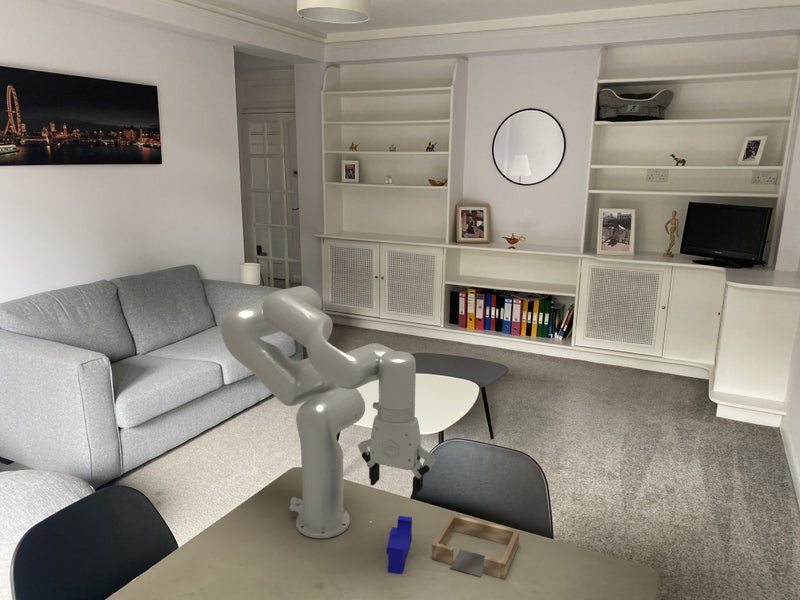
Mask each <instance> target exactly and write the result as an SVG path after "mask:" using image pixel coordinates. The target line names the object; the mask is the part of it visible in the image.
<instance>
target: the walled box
mask: <svg viewBox="0 0 800 600" xmlns="http://www.w3.org/2000/svg"><path fill="white" fill-rule="evenodd" d="M453 532H458V533H460V534H464V535H467V536H468V535H469V536H472V537H477V538H481V539H484V540H487V541H492V542H495V543H499V544H503V545H507V548H506V550H505V552H504V555H503V557H502V559H498V558H495V557H490V556H487V555H483V554H480V553H475V552H472V551H468V550H465V549H459V551H458V553H457V554H456V556H455V558H454V550H455V549H454V546H450V545H446V544H447V543H448V541H449V539H450V537H451V536H452V535H453ZM519 540H520V530H518V529H513V528H510V527H506V526H501V525H496V524H495V523H489V522H485V521H480V520H477V519H472V518H469V517H466V516H460V515H456V514H450V515H449V517H448V518H447V521H446V522H445V524H444V525H443V527H442V528H441V530H440V532H439V534H438V535H437V536H436V538H435V539H434V540H433V543H432V544H431V560H432V561H433V560H434V561H437V562H441V563H443V564H448V565H450V567H449V570H452V571H456V572H459V573H462V574H467V575H471V576H474V577H477V578H481V577H482V576H483V574H484V575H487V576H490V577H495V578H498V579H501V580H505V579H506V576H507V575H508V572H509V570H510V567H511V564H512V562H513V560H514V557H515V554H516V552H517V551H518V548H519V545H520V544H519Z"/></svg>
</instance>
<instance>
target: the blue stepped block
mask: <svg viewBox="0 0 800 600" xmlns="http://www.w3.org/2000/svg"><path fill="white" fill-rule="evenodd" d="M412 528H413V516H403V515H398V516H397V525H396V527H394V526H391V530H390V532H389V537H388V538H389V539H388V542H387V545H386V546H387V547H386V555H388V556H387V557H388V558H387V561H388V563H387V573H391V574H396V575H403V573H404V569H405V565H406V563H407V558H408V554H409V550H410V548H411V547H410V546H411V544H412V539H413V538H412V537H413V535H412V530H413V529H412Z"/></svg>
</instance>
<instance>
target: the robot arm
mask: <svg viewBox="0 0 800 600" xmlns="http://www.w3.org/2000/svg"><path fill="white" fill-rule="evenodd" d="M322 304H323V303H322V300H321V296H320V295H319V293H318V292H317V291H316V290H315V289H313V288H311V287H310V286H307V285H298V286H294V287H288V288H284V289H279V290H276V291H274V292H272V293H270V294H269V295H268V296H267V297H266V298H265V299H264V300H262V301H258V302H253V303H248V304H245V305H241V306H238V307H235V308H233V309H232V310H230V311H228V312H227V313H226V314H225V315H224V316H223V318H222V320H221V323H220V332H221V333H220V334H221V338H222V341H223V343H224V346H225V347H226V349H227V351H228V352H229V353H230V354H231V356H232V357H233V359H235V360H236V361H237V362H239V363H240V364H241V365H242V366H244V367H245V368H247V369H248V370H249V371H250V372H251V373H252V374H253V375H254V376H255V377H256V378H257V379H258V380H259V381H260V382H261V384H263V386H265V388H266V389H268V390H269V392H270V393H271V394H272V395H273V396H274V397H275V399H277V400H278V401H279V402H281V403H282V404H283V405H285V406H287V407H294V406H298V405H300V404H301V405H300V407H299V408H298V410H297V413H296V417H295V421H296V422H295V423H296V429H297V432H298V438H299V441H300V442H299V443H300V453H301V454H300V455H301V491H302V492H301V495H302V498H299V497H294V496H292V497H291V499H290V502H289V503H290V504H289V505H290V506H289V511H291V512H296V513H297V514H298V515H297V517H296V519H295V520H296V521H295V526H296V529H297V530H298V532H299V533H301V534H302V535H303V536H306V537H309V538H314V539H330V538H333V537H336V536H339V535H341V534H342V533H344V532H345V531H346V530H347V529H348V528H349V526H350V523H351V516H350V514H349V512H348V511H347V510H346V509H344V453H343V449H342V445H341V444H340V442H339V441H338V438H337V435H338V434H339V433H341V432H342V431H343V430H345V429H347V428H349V427H351V426H353V425H355V424H356V423H357V422H359V421H360V420H362V418H363V416H364V415H365V412H366V403H365V399H364V398H363V397H364V396H363V395H362V393H361V392H360V391H359V390H358V388H360V387H362V386H365V385H367V384H369V383H372V382H374V381H375V382H376V381H378V402H375V401H374V402H373V403H372V409H374V410H377V414H376V415H375V416H374V419H373V422H372V428H371V434H370V438H369V439H366V440H364V441H361V442H359V444H357V447H358V450H359V452H360V454H361V458H362V459H363V460H364V461H365V463H366V466H367V468H368V479H369V480H370V486H375V485H376V484H377V483H378V482H379V481H380V478H381V477H380V473H381V472H380V467H381V466H380V465H382V466H386V467H391V468H395V469H401V470H405V471H411V472H412V473H413V475H414V476H413V478H412V495H413V496H417V495H418V494H419V492H420V491H422V490H423V486H424V475H425V474H426V473H428V472H429V471H430V470H431V468H432V467H433V465H434V464H435V462H436V460H437V458H436V457H435V456H434V455H432V454H431V453H430V452H429V451H427V450H426V449H425V448H423V447H422V443H421V442H422V441H421V440H422V439H421V431H420V425H419V421H418V417H416V416H415V415H416V414H415V413H416V410H415V409H416V378H417V377H416V375H417V374H416V373H417V372H416V371H417V370H416V369H417V367H416V364H417V362H416V361H417V360H416V358H415V357H414V355H413V354H411V353H410V352H406V351H399V350H397V351H396V350H394V349H391V348H390V347H388V346H386V345H383V344H380V343H377V342H376V343H368V344H366V345H364V346H359V347H358V348H355V349H352V350H349V351H347V352H344V351H342V350H341V349H339V348H337V347H336V346H334V345H332V344H331V343H330V342H328V341H329V339H330V337H331V334H332V332H333V329H334V328H333V327H334V326H333V325H334V324H333V319H332V318H331V317H330V316H329V314H326V313H325V312H323V311H322V307H323V305H322ZM281 332H282V333H284V334H285V335H287V336H288V337H290V338H291V339H293V340H294V341H296V342H297V343H299V344H300V345H302V346H303V347H305V348H306V354H307V358H304V359H302V360H298V361H297V360H293V359H291V357H289V356H288V355H287V354H286V353H285V352H284V351H283V350H282V349H281V348H279V347H278V346H276V345H275V344H273V343H271V342H267V341H265V340H263V339H261V338H264V337H267V336H271V335H274V334H278V333H281ZM302 403H303V404H302ZM368 448H369V450H368ZM421 458H422V459H423V460H425V462H426V463H425V464H424V465H423V464H422V463H421V461H420V460H421Z"/></svg>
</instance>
